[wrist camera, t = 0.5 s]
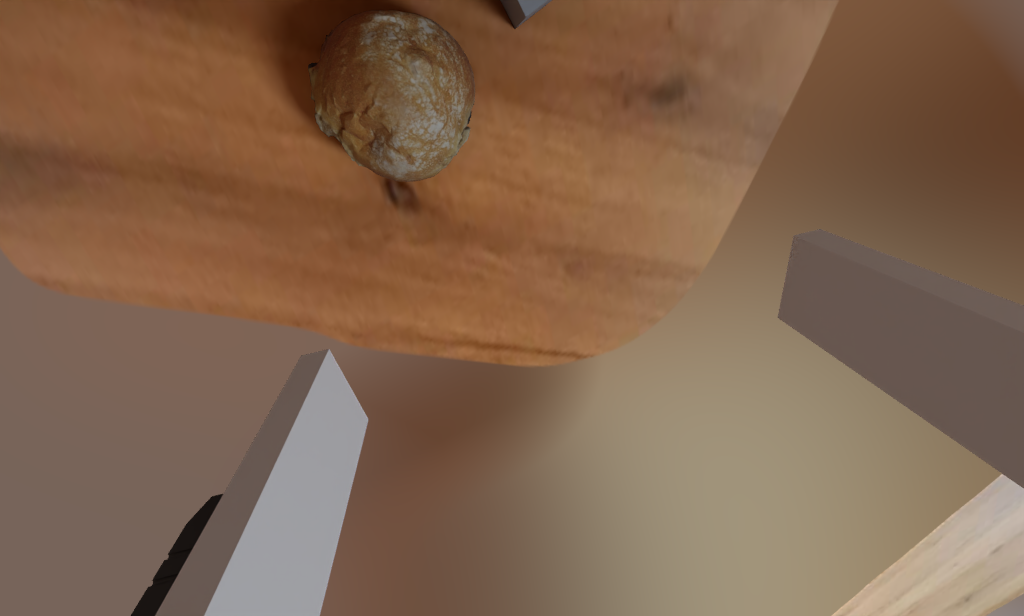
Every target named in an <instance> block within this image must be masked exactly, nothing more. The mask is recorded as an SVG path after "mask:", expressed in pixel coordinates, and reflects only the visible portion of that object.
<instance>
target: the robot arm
mask: <svg viewBox="0 0 1024 616" xmlns="http://www.w3.org/2000/svg"><path fill="white" fill-rule="evenodd" d="M778 318H779V319H780V320H782V321H783V322H785V323H786V324H788V325H789V326H790V327H792V328H793V329H795V330H796V331H798V332H799V333H800V334H802V335H803V336H805V337H806V338H808V339H809V340H811V341H812V342H813V343H815V344H816V345H818V346H819V347H821V348H822V349H824V350H825V351H826V352H828V353H829V354H831V355H832V356H834V357H835V358H837V359H838V360H839V361H841V362H843V363H844V364H845V365H847V366H848V367H849V368H851V369H852V370H854V371H855V372H857V373H858V374H860V375H861V376H863V377H864V378H865V379H867V380H868V381H870V382H871V383H873V384H874V385H875V386H877V387H878V388H880V389H881V390H883V391H884V392H886V393H887V394H888V395H890V396H891V397H893V398H894V399H896V400H897V401H899V402H900V403H901V404H903V405H904V406H906V407H907V408H909V409H910V410H911V411H913V412H914V413H916V414H917V415H919V416H920V417H922V418H923V419H924V420H926V421H927V422H929V423H930V424H932V425H933V426H935V427H936V428H937V429H939V430H940V431H942V432H943V433H945V434H946V435H947V436H949V437H950V438H952V439H953V440H955V441H956V442H958V443H959V444H960V445H962V446H963V447H965V448H966V449H968V450H969V451H971V452H972V453H973V454H975V455H977V456H978V457H979V458H981V459H982V460H984V461H985V462H986V463H988V464H989V465H991V466H992V467H994V468H995V469H997V470H998V471H999V472H1001V473H1002V474H1004V475H1005V476H1007V477H1008V478H1009V479H1011V480H1012V481H1014V482H1015V483H1017V484H1018V485H1020V486H1021V487H1022V488H1024V305H1021V304H1018V303H1015V302H1013V301H1010V300H1007V299H1005V298H1002V297H999V296H997V295H994V294H991V293H989V292H986V291H983V290H980V289H978V288H975V287H973V286H970V285H967V284H965V283H962V282H959V281H957V280H954V279H951V278H949V277H946V276H943V275H941V274H938V273H935V272H933V271H930V270H927V269H925V268H922V267H920V266H917V265H914V264H912V263H909V262H906V261H904V260H901V259H898V258H895V257H893V256H890V255H887V254H885V253H882V252H879V251H877V250H874V249H871V248H868V247H866V246H864V245H861V244H858V243H855V242H853V241H850V240H848V239H845V238H842V237H839V236H836V235H834V234H832V233H829V232H826V231H823V230H821V229H819V230H815V231H811V232H807V233H802V234H798V235H794V237H793V242H792V248H791V252H790V257H789V262H788V268H787V273H786V278H785V283H784V288H783V293H782V299H781V304H780V309H779V314H778ZM367 423H368V418H367V416H366V414H365V413H364V411H363V409H362V407H361V405H360V404H359V402H358V400H357V398H356V396H355V395H354V393H353V391H352V389H351V388H350V386H349V384H348V382H347V380H346V378H345V377H344V375H343V373H342V371H341V369H340V368H339V366H338V364H337V362H336V360H335V359H334V357H333V355H332V353H331V352H330V350H329V349H327V350H323V351H318V352H314V353H310V354H306V355H302V356H301V357H300V359H299V360H298V362H297V364H296V366H295V368H294V369H293V371H292V373H291V375H290V377H289V378H288V380H287V382H286V384H285V385H284V387H283V389H282V391H281V393H280V394H279V396H278V398H277V400H276V401H275V403H274V405H273V407H272V409H271V410H270V412H269V414H268V416H267V417H266V419H265V421H264V423H263V425H262V426H261V428H260V430H259V432H258V433H257V435H256V437H255V439H254V441H253V442H252V444H251V446H250V448H249V449H248V451H247V453H246V455H245V457H244V458H243V460H242V462H241V464H240V466H239V467H238V469H237V471H236V473H235V474H234V476H233V478H232V480H231V482H230V483H229V485H228V487H227V489H226V490H225V492H224V494H220V495H216V496H212V497H211V498H210V499H209V500H208V501H207V502H206V503H205V504H204V506H203V507H202V508H201V509H200V510H199V511H198V512H197V513H196V514H195V515H194V517H193V518H192V519H191V520H190V521H189V522H188V523H187V524H186V526H185V528H184V529H183V531H182V532H181V534H180V536H179V537H178V539H177V540H176V542H175V544H174V545H173V547H172V549H171V550H170V552H169V554H168V555H169V558H168V560H164V562H163V564H162V565H161V567H160V568H159V570H158V572H157V573H156V575H155V577H154V579H153V585H152V586H151V587H148V588H147V590H146V591H145V593H144V595H143V597H142V598H141V600H140V601H139V603H138V605H137V606H136V608H135V609H134V611H133V613H132V614H131V616H320V612H321V608H322V604H323V600H324V596H325V592H326V588H327V584H328V580H329V576H330V572H331V568H332V564H333V560H334V556H335V551H336V548H337V544H338V540H339V536H340V532H341V528H342V523H343V520H344V516H345V511H346V508H347V504H348V499H349V495H350V491H351V487H352V483H353V479H354V475H355V471H356V467H357V463H358V459H359V455H360V451H361V447H362V443H363V439H364V435H365V431H366V427H367Z"/></svg>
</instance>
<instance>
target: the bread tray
mask: <svg viewBox="0 0 1024 616" xmlns="http://www.w3.org/2000/svg"><path fill="white" fill-rule="evenodd" d="M550 1H552V0H501V2H502V4H503V6H504V8H505V10H506V12H507V14H508V16H509V18H510V20H511V22H512V24H513V26H514V28H515V29H516V28H517V27H518V26H520V25H521V24H522V23H523V22H525V21H526V20H527V19H529V18H530V17H531V16H532V15H534V14H535V13H536V12H538V11H539V10H540V9H541V8H543V7H544V6H545V5H547V4H548V3H549V2H550Z"/></svg>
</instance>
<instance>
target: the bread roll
mask: <svg viewBox="0 0 1024 616" xmlns="http://www.w3.org/2000/svg"><path fill="white" fill-rule="evenodd" d="M308 71H309V74H310V81H311V86H312V94H311V99H313V100H314V101H315V111H316V113H315V118H316V122H317V124H318V125H319V127H320V130H321V131H323V132H324V133H325V134H326V135H327V136H329V137H330V136H335V137H336V138H337V139H338V140H339V141H340V142H341V143H342V145H343V147H344V149H345V151H346V152H347V153H348V155H349V156H350V157H351V159H352V160H353V161H356V162H357V164H358V165H359V166H363V167H367V168H368V169H370V170H372V171H373V172H375V173H376V174H378V175H380V176H383V177H386V178H389V179H393V180H395V181H406V182H410V181H419V180H423V179H427V178H431V177H433V176H435V175H436V174H438V173H439V172H440V171H441V170H442V169H443V168H445V167H446V166H447V165H448V164H449V163H450V162H451V160H452V158H453V157H454V156H455V155H457V152H458V151H459V149H460V147H461V146H462V145H463V144H464V143H465V142H466V141H467V139H468V137H469V132H470V128H469V127H467V124H468V123H469V121H470V118H471V109H472V107H473V105H474V99H475V83H474V77H473V72H472V69H471V66H470V64H469V61H468V59H467V56H466V55H465V53H464V51H463V50H462V48H461V47H460V45H459V44H458V43H457V41H456V40H455V39H454V38H453V37H452V36H451V35H450V34H449V33H448V32H447V31H445V30H444V29H443V28H442V27H441V26H440V25H438V24H437V23H435V22H434V21H432V20H431V19H428V18H425V17H422V16H420V15H418V14H413V13H408V12H401V11H396V10H388V11H384V10H370V11H365V12H363V13H359V14H355V15H353V16H351V17H350V18H348V19H347V20H345V21H342V22H341V23H340V24H339V25H338V26H337V27H336V28H335V29H334V30H332V31H331V32H330V34H329V35H328V36H327V35H326V40H325V42H324V44H323V45H322V49H321V55H320V61H319V62H318V63H311V64H309V66H308Z"/></svg>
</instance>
